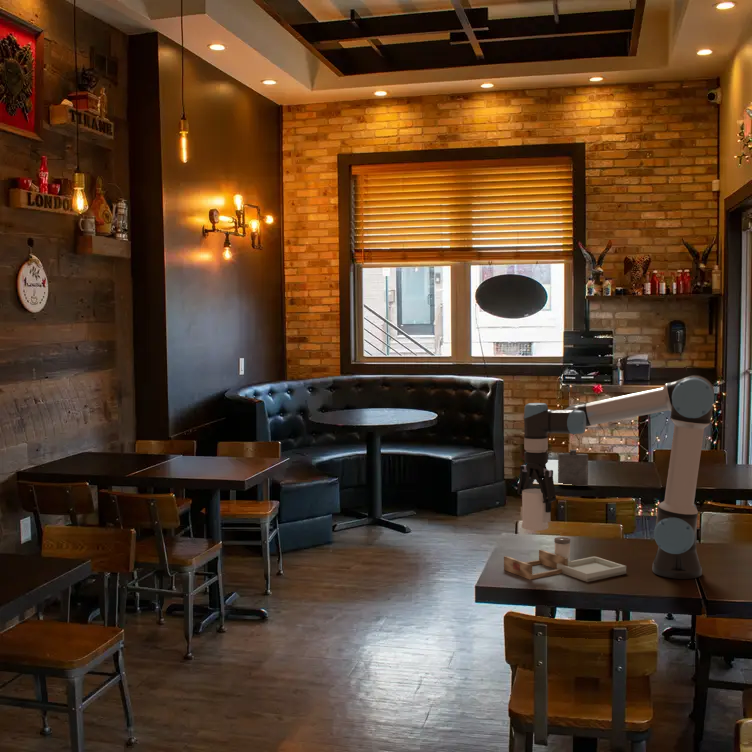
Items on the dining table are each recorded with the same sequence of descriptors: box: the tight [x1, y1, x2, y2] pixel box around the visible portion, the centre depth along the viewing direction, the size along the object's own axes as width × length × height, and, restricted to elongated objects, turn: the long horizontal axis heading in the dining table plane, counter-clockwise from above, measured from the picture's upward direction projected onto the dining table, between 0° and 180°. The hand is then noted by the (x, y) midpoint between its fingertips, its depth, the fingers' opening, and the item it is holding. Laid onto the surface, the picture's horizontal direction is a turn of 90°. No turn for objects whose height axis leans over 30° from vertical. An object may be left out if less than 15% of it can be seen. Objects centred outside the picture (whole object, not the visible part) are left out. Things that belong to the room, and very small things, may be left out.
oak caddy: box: [503, 549, 568, 580], centre depth 294 cm, size 13×16×4 cm
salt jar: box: [553, 536, 571, 561], centre depth 300 cm, size 5×5×9 cm
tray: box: [557, 555, 627, 583], centre depth 292 cm, size 14×17×2 cm
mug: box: [521, 488, 549, 531], centre depth 294 cm, size 12×8×12 cm
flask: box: [557, 449, 589, 486], centre depth 439 cm, size 4×14×18 cm, turn 78°
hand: (536, 519), depth 293 cm, fingers closed on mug, 9 cm apart
